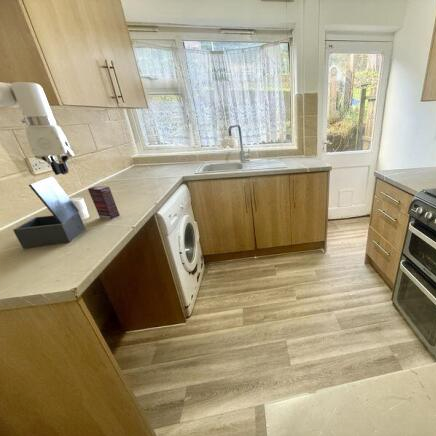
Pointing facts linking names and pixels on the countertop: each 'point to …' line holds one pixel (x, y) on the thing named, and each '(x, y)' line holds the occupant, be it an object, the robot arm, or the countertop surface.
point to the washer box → (48, 231)
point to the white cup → (80, 207)
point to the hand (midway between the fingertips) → (62, 173)
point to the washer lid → (54, 199)
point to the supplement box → (104, 202)
